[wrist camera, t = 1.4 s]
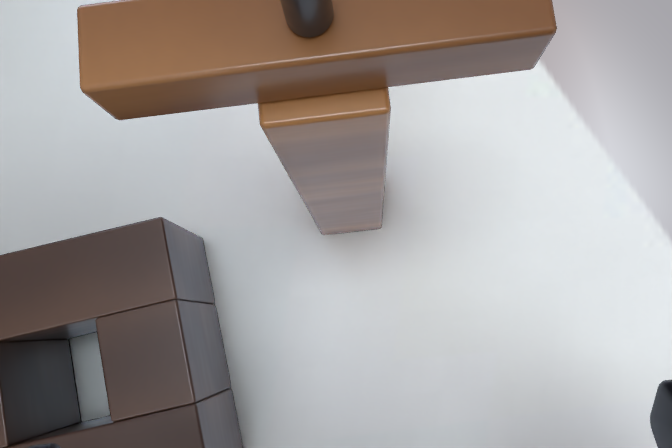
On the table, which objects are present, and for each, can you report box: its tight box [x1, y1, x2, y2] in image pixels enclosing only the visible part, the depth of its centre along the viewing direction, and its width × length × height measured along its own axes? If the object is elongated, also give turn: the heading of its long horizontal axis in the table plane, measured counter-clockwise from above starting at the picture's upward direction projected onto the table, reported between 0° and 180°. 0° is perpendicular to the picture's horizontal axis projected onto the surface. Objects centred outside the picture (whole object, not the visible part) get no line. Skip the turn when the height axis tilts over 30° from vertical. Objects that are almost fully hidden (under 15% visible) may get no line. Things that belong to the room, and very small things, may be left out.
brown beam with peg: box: [77, 0, 557, 235], centre depth 15 cm, size 2×7×16 cm, turn 96°
